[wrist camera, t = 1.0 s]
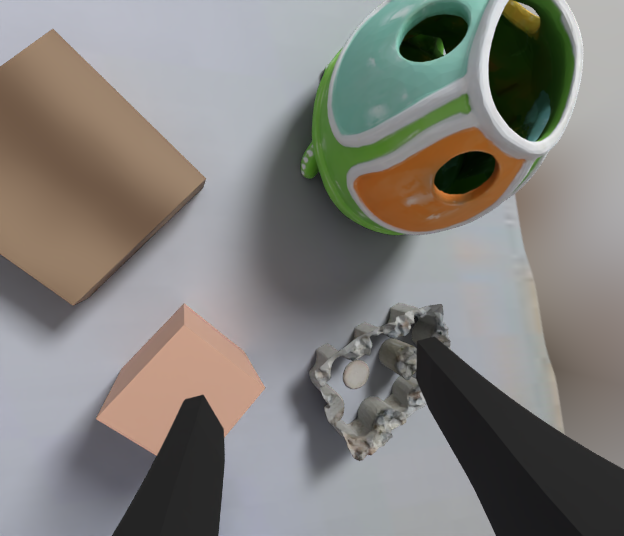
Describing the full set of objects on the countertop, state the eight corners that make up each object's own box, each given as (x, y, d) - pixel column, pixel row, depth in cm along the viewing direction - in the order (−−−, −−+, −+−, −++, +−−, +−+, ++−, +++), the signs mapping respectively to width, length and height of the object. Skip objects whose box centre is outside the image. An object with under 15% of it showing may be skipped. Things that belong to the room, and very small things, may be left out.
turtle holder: (475, 55, 27) (675, -78, 16) (412, 259, 26) (581, 268, 15) (352, -43, 23) (513, -321, 12) (269, 199, 21) (360, 147, 10)
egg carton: (327, 436, 24) (353, 471, 21) (295, 347, 23) (317, 367, 19) (435, 372, 28) (474, 392, 24) (413, 291, 26) (451, 299, 23)
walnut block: (90, 297, 18) (73, 305, 16) (-75, 176, 16) (-131, 161, 13) (203, 188, 20) (205, 178, 18) (73, 63, 18) (52, 28, 15)
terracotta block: (189, 414, 20) (191, 476, 15) (121, 368, 19) (95, 419, 13) (244, 351, 21) (265, 387, 16) (184, 303, 20) (184, 324, 14)
